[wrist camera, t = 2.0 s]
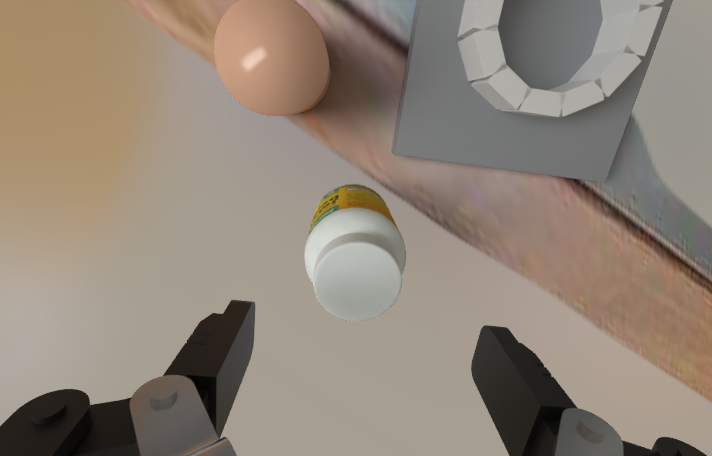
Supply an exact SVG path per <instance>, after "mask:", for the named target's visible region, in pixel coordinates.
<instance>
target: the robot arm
mask: <svg viewBox="0 0 712 456" xmlns="http://www.w3.org/2000/svg"><path fill="white" fill-rule="evenodd" d="M254 322H255V303H254V302H249V301H238V300H232V301H231V302H230V304H229V305H228V307H227V308H226V310H225V312H224V313H223V314H216V313H213V314H211V315H210V316H208V317H207V318H205V319H204V320H202V321H201V322H200V323H199V324H198V326H197V327H196V329H195V330H194V332H193V334H192V335H191V336H190V337H189V339H188V340H187V343H185V345H184V346H183V348H182V349H181V350H180V352H179V353H178V355H177V356H176V358H175V359H174V361H173V362H172V364H171V365H170V366H169V368H168V369H167V371H166V372H165V374H164V375H163V376H162V377H158V378H155V379H153V380H151V381H149V382H147V383H145V384H144V385H142V386H141V387H140V388H139V389H138V390H137V391H136V392H135V393H134V394H133V396H132V397H131V398H128V399H124V400H119V401H113V402H107V403H100V404H94V405H90V401H89V397H88V395H86V393H84V392H82V391H80V390H75V389H64V390H58V391H53V392H50V393H47V394H44V395H41V396H39V397H37V398H35V399H33V400H31V401H29V402H27V403H26V404H24V405H23V406H22V407H20V408H19V409H18V410H17V411H16V412H14V413H13V414H12V415H11V416H10V417H9V418H8V419H7V420H6V421H5V422H4V423H3V424H2V425H1V426H0V456H237V455H236V453H235V451H234V449H233V447H232V445H231V443H230V441H229V440H228V439H227V438H226V437H223V438H222V439H220V436H221V434H222V431H223V429H224V426H225V423H226V421H227V418H228V416H229V413H230V410H231V408H232V405H233V403H234V400H235V397H236V395H237V392H238V390H239V387H240V384H241V382H242V379H243V377H244V374H245V371H246V368H247V366H248V364H249V361H250V358H251V354H252V349H253V343H254ZM471 367H472V368H471V370H472V376H473V380H474V382H475V384H476V386H477V388H478V390H479V392H480V395H481V397H482V399H483V401H484V403H485V405H486V407H487V409H488V411H489V414H490V415H491V418H492V420H493V422H494V424H495V426H496V428H497V430H498V432H499V435H500V437H501V439H502V441H503V443H504V445H505V447H506V449H507V451H508V454H509V455H510V456H707V455H705V454H704V453H702V452H701V451H699V450H698V449H696V448H694V447H692V446H691V445H689V444H686V443H684V442H682V441H680V440H677V439H674V438H669V437H661V438H658V439H657V440H656V442H655V444H654V446H653V448H652V450H650V449H647V448H644V447H641V446H637V445H635V444H632V443H629V442H625V441H622V440H621V438H620V436H619V435H618V433H617V432H616V431H615V430H614V429H613V428H612V427H611V426H610V425H609V424H608V423H607V422H605V421H604V420H603V419H601V418H600V417H598V416H596V415H594V414H593V413H590V412H588V411H585V410H582V409H578V408H577V407H576V406H575V404H574V403H573V402H572V400H571V399H570V398H569V397H568V396H567V394H566V393H565V391H564V390H563V389H562V388H561V386H560V385H559V384H558V383H557V381H556V380H555V379H554V377H551V374H550V372H549V371H548V370H547V368H545V367H544V365H543V363H542V362H541V361H540V359H539V358H538V357H537V356H536V354H535V353H533V352H532V351H531V350H530V349H528V348H527V347H526V346H524V345H523V344H522V343H518V341H517V340H516V338H515V337H514V336H513V335H512V333H511V332H510V331H509V329H508V328H505V327H497V326H483V328H482V329H481V332H480V335H479V339H478V342H477V346H476V349H475V353H474V356H473V360H472V366H471Z"/></svg>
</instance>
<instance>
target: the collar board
mask: <svg viewBox="0 0 712 456" xmlns="http://www.w3.org/2000/svg"><path fill="white" fill-rule="evenodd" d="M672 1H673V0H417V2H416V8H415V14H414V20H413V26H412V32H411V38H410V44H409V50H408V56H407V62H406V68H405V74H404V80H403V86H402V92H401V98H400V105H399V111H398V117H397V123H396V129H395V135H394V141H393V147H392V153H394V154H395V155H401V156H408V157H416V158H423V159H431V160H438V161H446V162H453V163H461V164H468V165H476V166H483V167H491V168H498V169H506V170H513V171H521V172H528V173H536V174H543V175H551V176H558V177H566V178H573V179H581V180H588V181H596V182H603V183H605V181H606V179H607V176H608V173H609V171H610V168H611V165H612V163H613V160H614V157H615V155H616V152H617V149H618V146H619V144H620V141H621V138H622V136H623V133H624V130H625V128H626V125H627V122H628V120H629V117H630V114H631V112H632V109H633V106H634V103H635V101H636V98H637V95H638V93H639V90H640V87H641V84H642V82H643V79H644V76H645V74H646V71H647V68H648V66H649V63H650V60H651V58H652V55H653V52H654V50H655V47H656V44H657V42H658V39H659V36H660V34H661V31H662V28H663V25H664V23H665V20H666V17H667V15H668V12H669V9H670V7H671V4H672Z"/></svg>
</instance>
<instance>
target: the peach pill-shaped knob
mask: <svg viewBox="0 0 712 456" xmlns="http://www.w3.org/2000/svg"><path fill="white" fill-rule="evenodd" d="M214 57H215V63H216V67H217V70H218V73H219V76H220V78H221V80H222V82H223V84H224V86H225V87H226V89H227V90H228V91H229V93H230V94H231V95H232V96H233V97H234V98H235V99H236V100H237V101H238V102H239V103H240V104H242V105H243V106H245V107H246V108H248V109H250V110H252V111H254V112H257V113H260V114H263V115H268V116H283V115H290V114H297V113H302V112H305V111H308V110H310V109H312V108H313V107H314V106H316V105H317V104H318V103H319V102H320V101H321V100H322V98H323V97H324V95H325V94H326V92H327V90H328V87H329V84H330V79H331V65H330V60H329V56H328V53H327V49H326V45H325V42H324V39H323V36H322V33H321V31H320V29H319V26H318V25H317V23H316V22H315V20H314V18H313V17H312V16H311V15H310V13H309V12H308V11H307V10H306V9H305V8H304V7H302V6H301V5H300V4H298V3H297V2H296V1H294V0H239V1H237V2H236V3H235V4H233V5H232V6H231V7H230V8H229V9H228V10H227V11H226V13H225V14H224V16H223V17H222V19H221V21H220V23H219V25H218V28H217V31H216V36H215V41H214Z"/></svg>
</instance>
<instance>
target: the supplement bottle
mask: <svg viewBox="0 0 712 456" xmlns="http://www.w3.org/2000/svg"><path fill="white" fill-rule="evenodd" d="M304 256H305V258H304V259H305V266H306V270H307V273H308V275H309V278H310V279H311V281H312V283H313V286H314V290H315V294H316V297H317V299H318V301H319V302H320V304H321V305H322V306H323V307H324V308H325V309H326V310H327V311H328V312H329V313H331V314H332V315H334V316H336V317H339V318H341V319H344V320H349V321H365V320H369V319H373V318H375V317H377V316H380V315H381V314H383V313H384V312H386V311H387V310H388V309H389V308H390V307H391V306H392V305H393V303H394V302H395V301H396V299H397V297H398V296H399V293H400V290H401V285H402V273H403V270H404V267H405V261H406V251H405V245H404V241H403V239H402V236H401V234H400V232H399V230H398V228H397V226H396V224H395V222H394V220H393V218H392V216H391V214H390V212H389V210H388V208H387V206H386V204H385V202H384V200H383V199H382V198H381V196H380V195H379V194H377V193H376V192H375V191H374V190H372V189H370V188H368V187H366V186H363V185H359V184H348V185H342V186H339V187H336V188H334V189H332V190H331V191H329V192H328V193H326V194H325V195H324V196H323V198H322V199H321V200H320V202H319V203H318V205H317V207H316V210H315V213H314V216H313V220H312V224H311V228H310V231H309V235H308V238H307V243H306V247H305V255H304Z"/></svg>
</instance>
